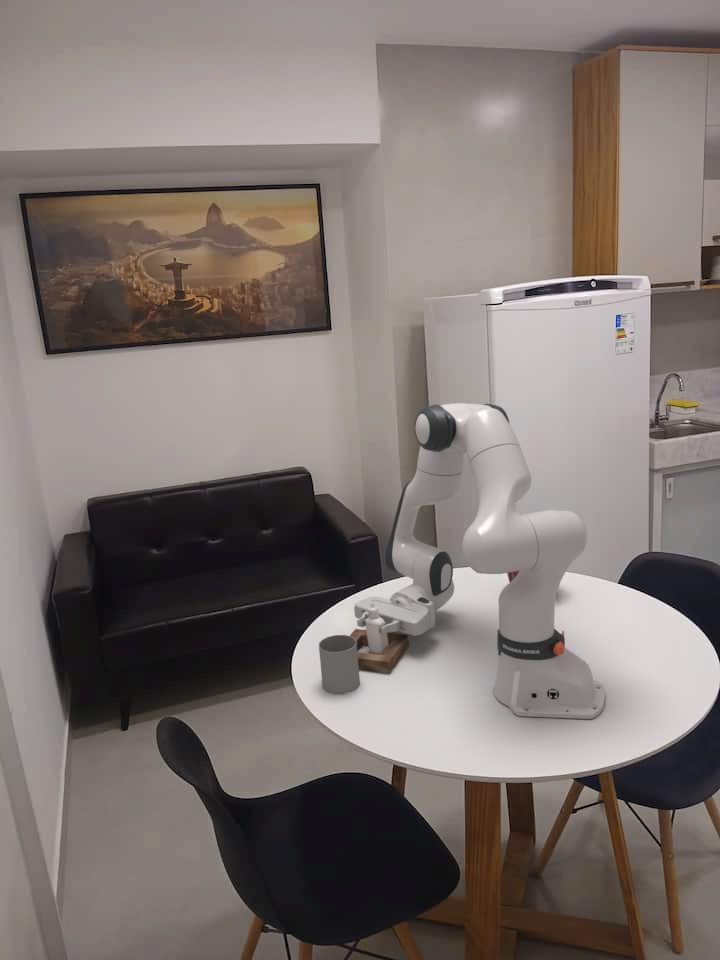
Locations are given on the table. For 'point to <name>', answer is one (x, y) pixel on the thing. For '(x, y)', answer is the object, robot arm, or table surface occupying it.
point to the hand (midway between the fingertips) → (370, 627)
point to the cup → (339, 664)
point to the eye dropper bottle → (375, 631)
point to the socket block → (387, 659)
